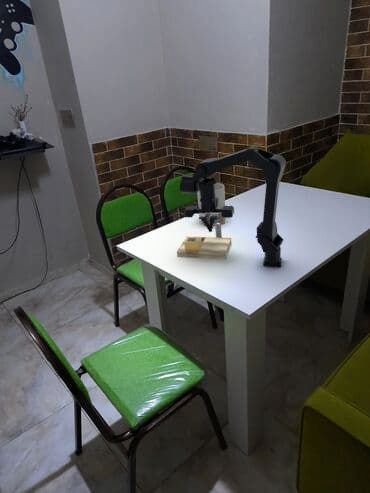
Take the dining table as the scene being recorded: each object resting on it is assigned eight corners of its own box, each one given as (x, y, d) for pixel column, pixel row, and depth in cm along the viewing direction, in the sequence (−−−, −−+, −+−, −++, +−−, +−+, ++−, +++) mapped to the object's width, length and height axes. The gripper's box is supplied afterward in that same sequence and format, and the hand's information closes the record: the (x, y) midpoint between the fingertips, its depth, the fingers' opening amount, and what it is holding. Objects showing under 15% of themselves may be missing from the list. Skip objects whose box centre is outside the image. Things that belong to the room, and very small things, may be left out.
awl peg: (221, 241, 150) (220, 224, 147) (215, 240, 151) (214, 224, 147) (222, 238, 152) (221, 221, 149) (216, 238, 153) (215, 221, 150)
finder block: (199, 250, 139) (198, 241, 137) (185, 249, 141) (183, 241, 139) (202, 244, 143) (201, 236, 141) (188, 244, 145) (187, 236, 143)
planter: (230, 218, 171) (229, 184, 163) (217, 228, 162) (214, 192, 155) (209, 215, 179) (206, 181, 171) (194, 224, 170) (191, 189, 162)
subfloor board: (225, 259, 135) (225, 253, 134) (177, 256, 141) (176, 251, 140) (231, 243, 147) (231, 237, 146) (186, 241, 153) (186, 236, 152)
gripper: (235, 187, 134) (237, 223, 140) (189, 187, 139) (193, 223, 146) (230, 196, 124) (232, 235, 131) (181, 197, 130) (186, 234, 136)
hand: (210, 231), depth 136 cm, fingers closed
